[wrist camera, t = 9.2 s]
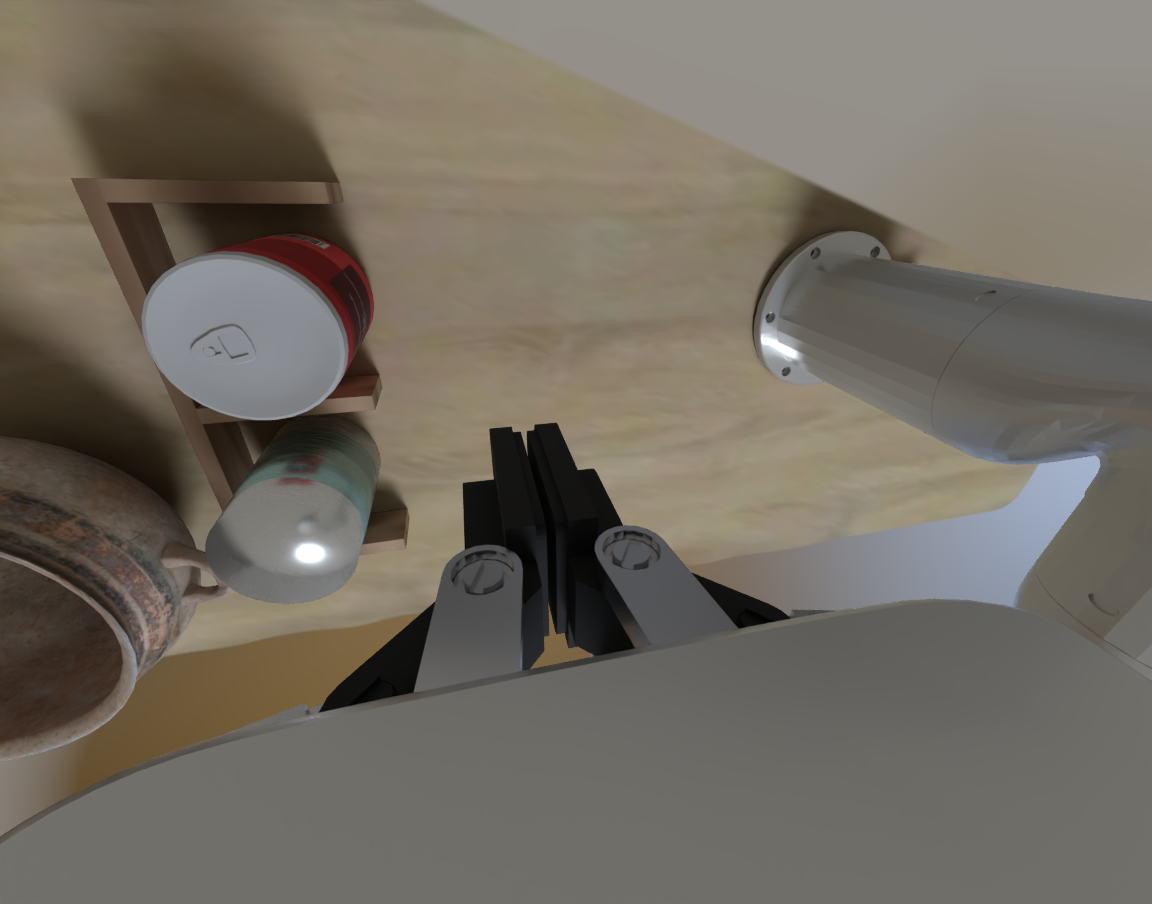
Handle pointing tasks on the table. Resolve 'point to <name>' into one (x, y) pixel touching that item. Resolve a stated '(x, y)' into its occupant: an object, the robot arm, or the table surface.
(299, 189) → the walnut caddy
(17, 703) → the cooking pot
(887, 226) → the table surface
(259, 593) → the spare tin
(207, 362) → the canned food
